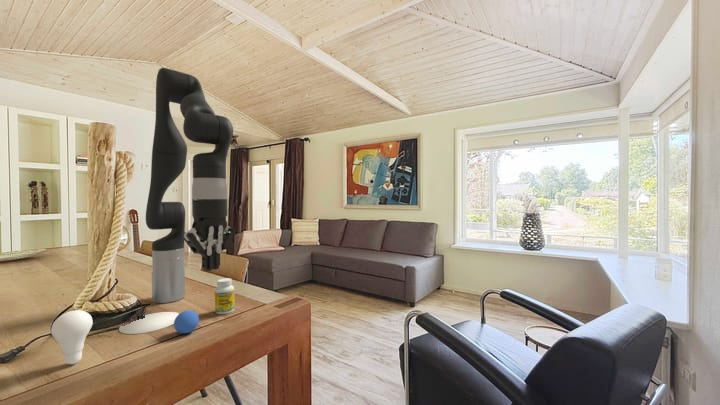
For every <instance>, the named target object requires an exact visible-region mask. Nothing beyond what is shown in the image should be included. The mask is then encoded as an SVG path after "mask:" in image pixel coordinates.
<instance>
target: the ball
mask: <svg viewBox="0 0 720 405" xmlns="http://www.w3.org/2000/svg"><path fill="white" fill-rule="evenodd" d="M199 323H200V318H199V315H198V313H197V312H195V311H193V310H190V309H189V310H188V309H187V310H183V311H181V312H180V313H179V315H178V316H177V317H176V318H175V321H174V324H173V327H174V328H173V329H175V331H176V332H177V333H179V334H182V335H184V334H185V335H186V334H190V333H192V332H193V331H195V330H196V328H197V327H198V326H199Z"/></svg>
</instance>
